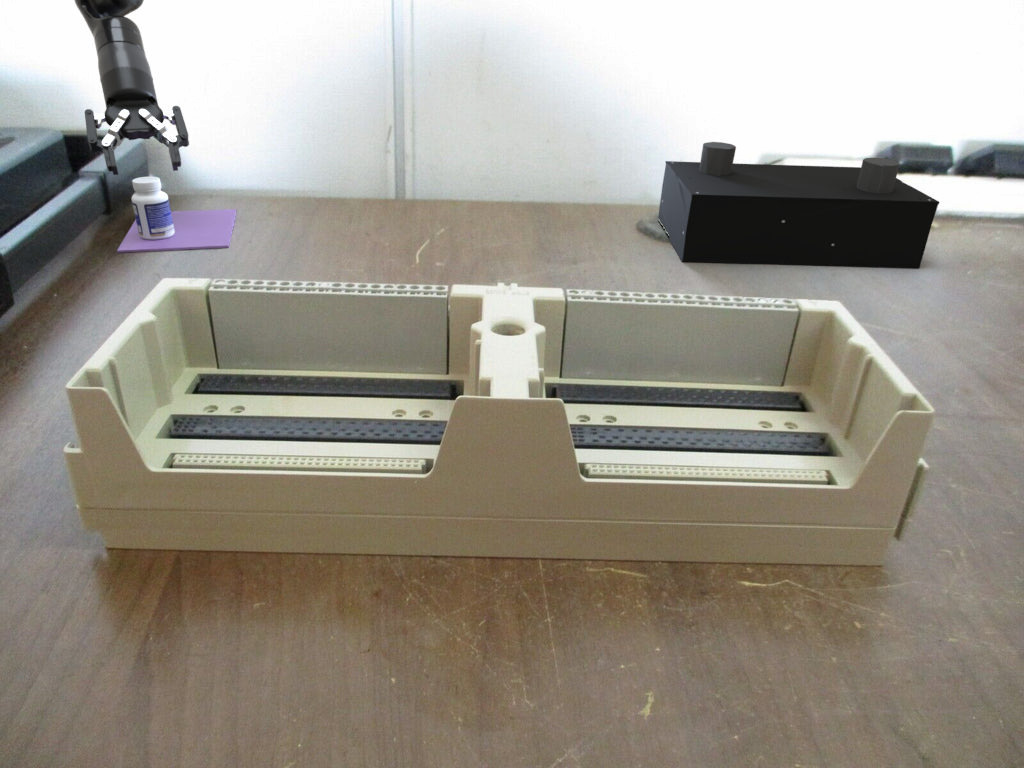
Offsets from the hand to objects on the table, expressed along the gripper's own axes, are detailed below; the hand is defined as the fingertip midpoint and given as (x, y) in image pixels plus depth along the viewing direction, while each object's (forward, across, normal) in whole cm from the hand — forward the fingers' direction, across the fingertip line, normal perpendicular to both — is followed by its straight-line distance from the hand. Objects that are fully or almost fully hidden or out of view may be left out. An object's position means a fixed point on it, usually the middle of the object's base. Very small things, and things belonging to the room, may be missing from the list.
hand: (146, 169), depth 118 cm
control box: (+35, +95, -19) cm, 103 cm away
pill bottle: (+8, 0, +6) cm, 10 cm away
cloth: (+6, +4, +8) cm, 11 cm away
